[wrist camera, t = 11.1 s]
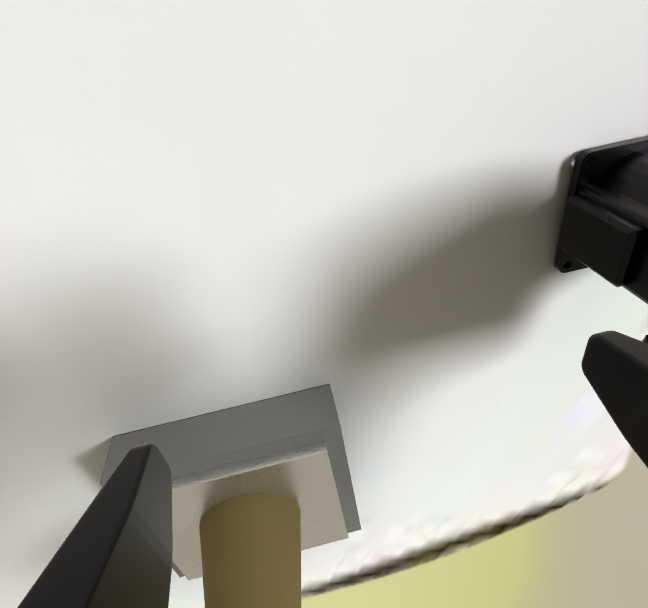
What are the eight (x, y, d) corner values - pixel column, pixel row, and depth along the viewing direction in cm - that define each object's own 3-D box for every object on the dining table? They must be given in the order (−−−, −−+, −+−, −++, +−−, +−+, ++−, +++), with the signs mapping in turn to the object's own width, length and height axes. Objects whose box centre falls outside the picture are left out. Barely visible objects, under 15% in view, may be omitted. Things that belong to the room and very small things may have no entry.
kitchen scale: (329, 384, 25) (342, 435, 22) (352, 494, 33) (364, 544, 29) (112, 436, 24) (96, 497, 21) (186, 536, 32) (181, 592, 29)
